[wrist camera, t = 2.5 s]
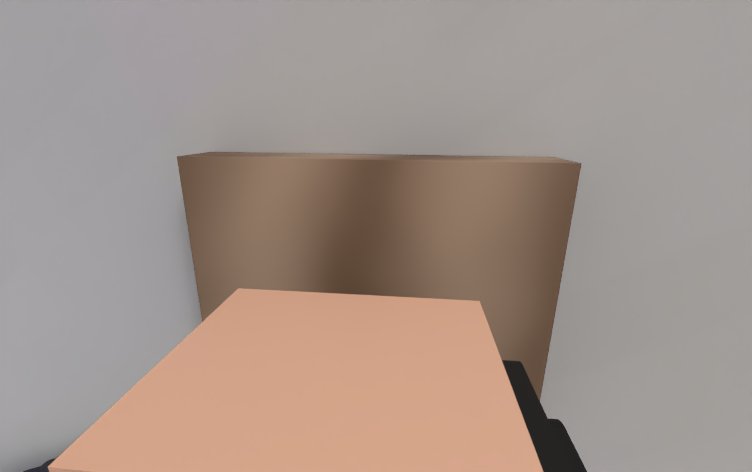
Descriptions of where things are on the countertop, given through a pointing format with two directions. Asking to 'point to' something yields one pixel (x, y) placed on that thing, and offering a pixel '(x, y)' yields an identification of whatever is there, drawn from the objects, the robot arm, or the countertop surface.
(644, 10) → the countertop surface
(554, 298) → the square brown stand
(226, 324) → the peach colored cube
